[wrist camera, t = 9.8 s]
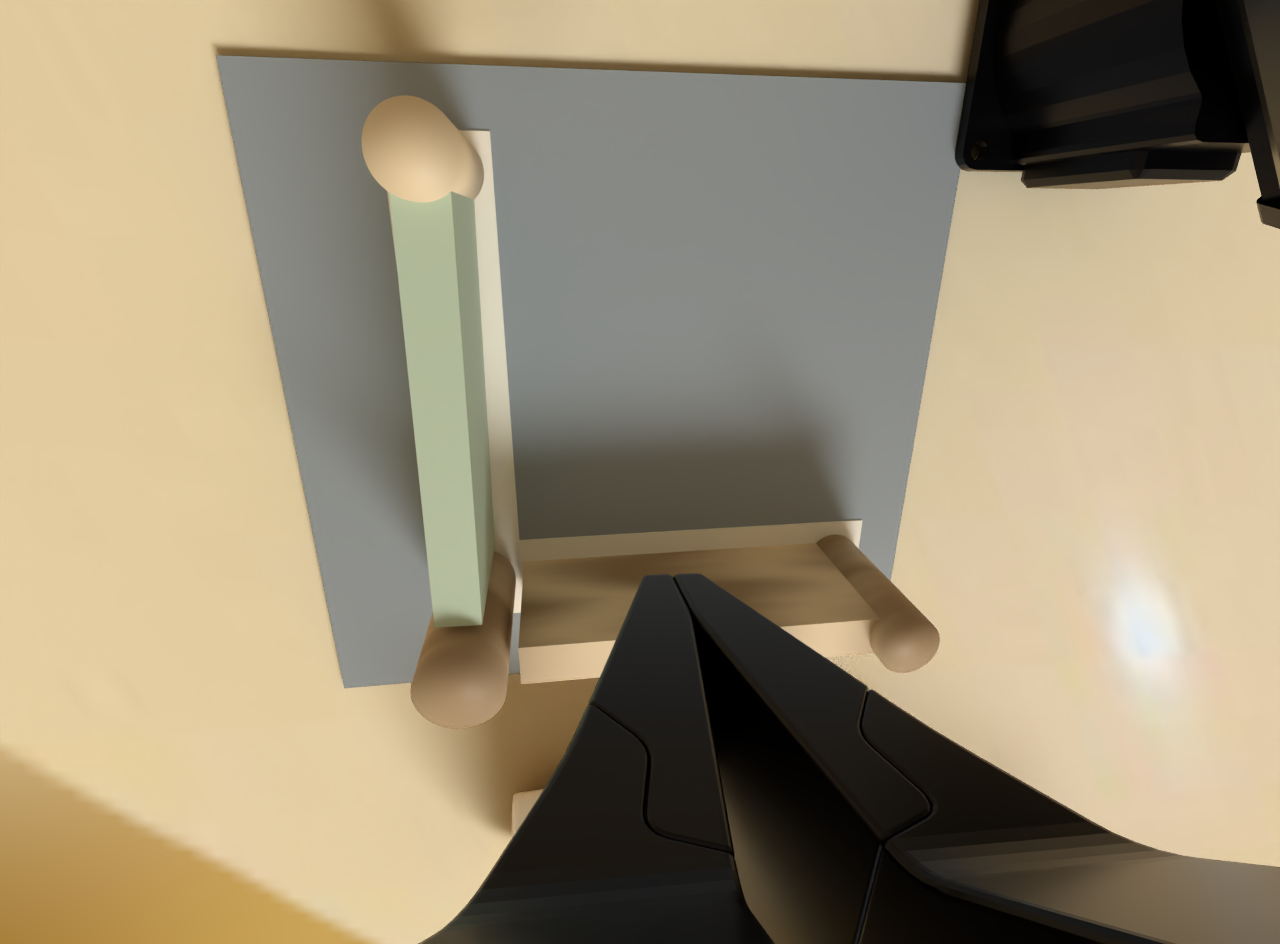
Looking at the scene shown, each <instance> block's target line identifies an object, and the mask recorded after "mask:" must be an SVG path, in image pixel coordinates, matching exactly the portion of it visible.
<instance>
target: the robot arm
mask: <svg viewBox="0 0 1280 944" xmlns="http://www.w3.org/2000/svg"><path fill="white" fill-rule="evenodd" d="M974 144H977V146H978V147H979V153H978V156H977V158H976V159H975V160H974V159H973V158H972V156H971V149H972V147H973V145H974ZM1246 152H1251V154H1252V158H1253V162H1254V166H1255V170H1256V175H1257V179H1258V183H1259V187H1260V191H1261V195H1262V196H1261V197H1260V198H1259V199H1257V206H1258V210H1259V214H1260V218H1261V222H1262V223H1263V224H1266V225H1269V226H1272V227H1276V228H1279V229H1280V0H980V3H979V10H978V16H977V22H976V28H975V34H974V40H973V46H972V52H971V58H970V64H969V70H968V76H967V82H966V88H965V94H964V100H963V107H962V113H961V119H960V125H959V131H958V137H957V143H956V149H955V161H956V163H957V166H959V167H960V168H961V169H962V170H965V171H993V172H1023V173H1022V177H1021V181H1022V182H1023V184H1024V185H1025V186H1026V187H1027V188H1066V189H1105V188H1120V187H1134V186H1149V185H1164V184H1178V183H1193V182H1207V181H1222V180H1224V179H1225V178H1226V177H1228V176H1229V175H1231V174H1232V173H1233V172H1235V171H1236V169H1237V166H1238V162H1239V159H1240V156H1241V153H1246ZM868 690H869V689H868V686H866V685H865V684H863V683H862V682H860V681H859V680H858V679H856V678H855V677H853V676H852V675H850V674H849V673H847V672H846V671H844V670H843V669H841V668H840V667H838V666H837V665H835V664H834V663H832V662H831V661H829V660H828V659H826V658H825V657H824V656H822V655H821V654H819V653H818V652H816V651H815V650H813V649H812V648H810V647H809V646H807V645H806V644H804V643H803V642H801V641H800V640H798V639H797V638H795V637H794V636H792V635H791V634H790V633H788V632H787V631H785V630H784V629H782V628H781V627H779V626H778V625H776V624H775V623H773V622H772V621H770V620H769V619H767V618H766V617H764V616H763V615H761V614H760V613H758V612H757V611H756V610H754V609H753V608H751V607H750V606H748V605H747V604H745V603H744V602H742V601H741V600H739V599H738V598H736V597H735V596H733V595H732V594H730V593H729V592H727V591H726V590H724V589H723V588H722V587H720V586H719V585H717V584H716V583H714V582H713V581H711V580H710V579H708V578H707V577H705V576H704V575H702V574H699V573H688V574H676V575H674V576H673V577H672V576H671V575H669V574H654V575H645V576H644V577H643V578H642V580H641V583H640V585H639V587H638V590H637V592H636V594H635V597H634V599H633V601H632V604H631V606H630V608H629V611H628V613H627V615H626V618H625V620H624V622H623V624H622V627H621V629H620V631H619V634H618V636H617V638H616V641H615V643H614V645H613V648H612V650H611V652H610V655H609V657H608V659H607V662H606V664H605V666H604V669H603V671H602V673H601V676H600V678H599V680H598V683H597V685H596V687H595V690H594V692H593V694H592V697H591V699H590V701H589V704H588V706H587V708H586V710H585V712H584V714H583V717H582V719H581V721H580V723H579V726H578V728H577V730H576V732H575V734H574V736H573V738H572V740H571V742H570V744H569V746H568V748H567V750H566V752H565V755H564V756H563V758H562V760H561V761H560V763H559V765H558V766H557V768H556V770H555V771H554V773H553V775H552V777H551V778H550V780H549V782H548V783H547V785H546V787H545V788H544V790H543V791H542V793H541V794H540V796H539V798H538V799H537V801H536V802H535V804H534V805H533V807H532V808H531V810H530V811H529V813H528V814H527V816H526V818H525V819H524V821H523V822H522V824H521V825H520V827H519V828H518V830H517V831H516V833H515V834H514V836H513V838H512V839H511V841H510V842H509V844H508V845H507V847H506V848H505V850H504V851H503V853H502V855H501V856H500V858H499V859H498V861H497V862H496V864H495V865H494V867H493V868H492V870H491V871H490V873H489V875H488V876H487V878H486V879H485V880H484V882H483V883H482V885H481V886H480V888H479V889H478V891H477V892H476V894H475V895H474V896H473V897H472V899H471V900H470V901H469V902H468V904H467V905H466V906H465V907H464V908H463V910H462V911H461V912H460V913H459V914H458V915H457V916H456V917H455V918H454V919H453V920H452V921H451V922H450V923H449V924H447V925H446V926H445V927H444V928H443V929H442V930H440V931H439V932H437V933H436V934H434V935H432V936H431V937H429V938H427V939H426V940H424V941H422V942H421V943H419V944H1280V867H1274V866H1265V865H1256V864H1247V863H1238V862H1230V861H1221V860H1212V859H1203V858H1195V857H1189V856H1182V855H1178V854H1174V853H1170V852H1165V851H1161V850H1158V849H1155V848H1152V847H1149V846H1146V845H1143V844H1140V843H1137V842H1134V841H1132V840H1129V839H1127V838H1125V837H1122V836H1120V835H1118V834H1115V833H1113V832H1111V831H1109V830H1107V829H1105V828H1104V827H1102V826H1100V825H1098V824H1096V823H1094V822H1092V821H1090V820H1089V819H1087V818H1085V817H1084V816H1082V815H1080V814H1078V813H1077V812H1075V811H1073V810H1071V809H1070V808H1068V807H1066V806H1064V805H1063V804H1061V803H1059V802H1057V801H1056V800H1054V799H1052V798H1050V797H1049V796H1047V795H1045V794H1043V793H1042V792H1040V791H1038V790H1036V789H1035V788H1033V787H1031V786H1029V785H1028V784H1026V783H1024V782H1022V781H1021V780H1019V779H1017V778H1015V777H1014V776H1012V775H1010V774H1009V773H1007V772H1005V771H1003V770H1002V769H1000V768H998V767H996V766H995V765H993V764H991V763H989V762H988V761H986V760H984V759H982V758H981V757H979V756H977V755H975V754H974V753H972V752H970V751H969V750H967V749H965V748H964V747H962V746H960V745H959V744H957V743H955V742H954V741H952V740H950V739H949V738H947V737H945V736H943V735H942V734H940V733H938V732H937V731H935V730H933V729H932V728H930V727H929V726H927V725H926V724H924V723H923V722H921V721H919V720H918V719H916V718H915V717H913V716H912V715H910V714H909V713H907V712H906V711H904V710H902V709H901V708H899V707H898V706H896V705H895V704H893V703H892V702H890V701H889V700H887V699H886V698H884V697H883V696H881V695H880V694H879V693H877V692H876V691H874V690H869V691H868Z"/></svg>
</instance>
